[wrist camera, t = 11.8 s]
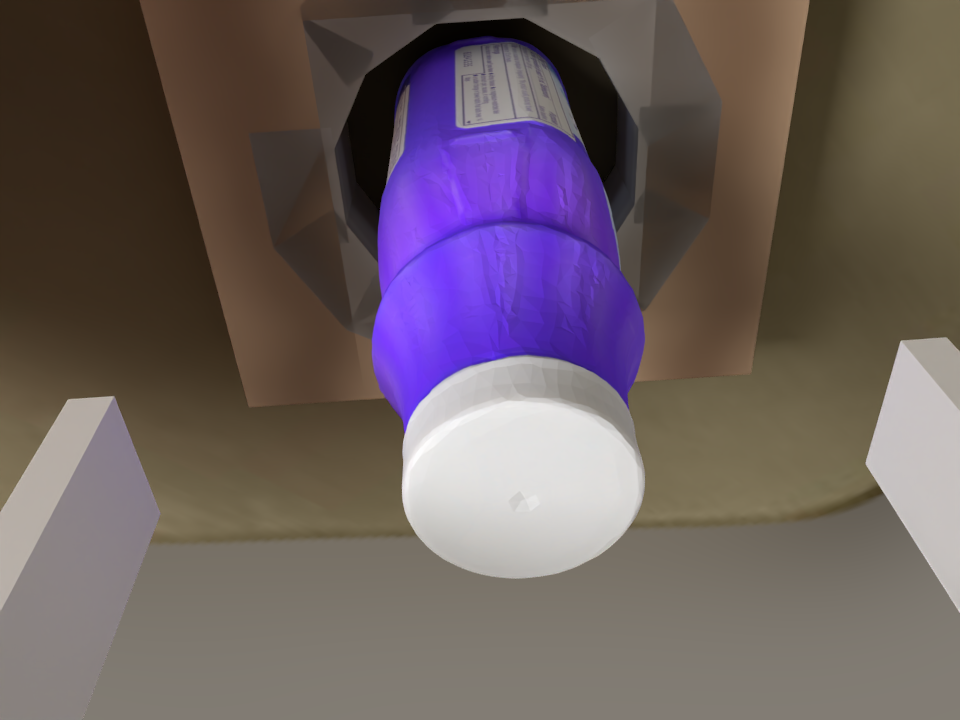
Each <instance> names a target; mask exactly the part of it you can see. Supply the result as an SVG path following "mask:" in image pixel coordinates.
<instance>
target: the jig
mask: <svg viewBox="0 0 960 720" xmlns="http://www.w3.org/2000/svg"><path fill="white" fill-rule="evenodd" d="M139 1H140V4H141V8H142V12H143V16H144V19H145V23H146V27H147V30H148V34H149V38H150V42H151V45H152V49H153V53H154V57H155V60H156V64H157V68H158V71H159V75H160V79H161V83H162V86H163V90H164V94H165V97H166V101H167V105H168V109H169V112H170V116H171V120H172V124H173V127H174V131H175V135H176V138H177V142H178V146H179V150H180V153H181V157H182V161H183V165H184V168H185V172H186V176H187V179H188V183H189V187H190V191H191V194H192V198H193V202H194V205H195V209H196V213H197V217H198V220H199V224H200V228H201V232H202V235H203V239H204V243H205V246H206V250H207V254H208V258H209V261H210V265H211V269H212V273H213V276H214V280H215V284H216V287H217V291H218V295H219V299H220V302H221V306H222V310H223V313H224V317H225V321H226V325H227V328H228V332H229V336H230V340H231V343H232V347H233V351H234V354H235V358H236V362H237V366H238V369H239V373H240V377H241V381H242V384H243V388H244V392H245V395H246V399H247V403H248V407H262V406H277V405H292V404H307V403H322V402H337V401H352V400H367V399H382V398H385V396H384V394H383V393H382V392H381V391H380V389H379V384H378V381H377V378H376V376H375V373H374V367H373V360H372V336H373V329H374V325H375V319H376V315H377V311H378V308H379V305H380V302H381V300H382V295H381V288H380V281H379V267H378V225H379V216H380V211H379V210H378V209H377V208H376V206H375V205H374V204H373V202H372V201H371V200H370V199H369V197H368V196H367V195H366V194H365V192H364V191H363V190H362V188H361V187H360V186H359V185H358V183H357V182H356V176H355V170H354V163H353V156H352V149H351V143H350V136H349V129H348V122H347V117H348V115H349V112H350V110H351V108H352V105H353V103H354V100H355V98H356V96H357V93H358V91H359V88H360V86H361V84H362V81H363V79H364V76H365V74H366V73H368V72H369V71H370V70H372V69H373V68H375V67H376V66H377V65H379V64H380V63H382V62H383V61H384V60H386V59H387V58H389V57H390V56H391V55H393V54H394V53H396V52H397V51H398V50H400V49H401V48H403V47H404V46H405V45H407V44H408V43H410V42H411V41H412V40H414V39H415V38H417V37H418V36H419V35H421V34H422V33H424V32H425V31H426V30H428V29H429V28H431V27H432V26H433V25H435V24H439V23H453V22H468V21H483V20H498V19H513V18H526V19H527V20H529V21H531V22H533V23H535V24H537V25H539V26H540V27H542V28H544V29H546V30H548V31H550V32H552V33H553V34H555V35H557V36H559V37H561V38H563V39H565V40H566V41H568V42H570V43H572V44H574V45H576V46H578V47H580V48H581V49H583V50H585V51H587V52H589V53H591V54H593V55H594V56H596V57H597V58H598V59H599V61H600V63H601V65H602V67H603V68H604V70H605V72H606V74H607V76H608V77H609V79H610V81H611V83H612V85H613V86H614V88H615V90H616V92H617V94H618V106H617V133H616V160H615V166H614V168H613V169H612V171H611V172H610V174H609V176H608V177H607V179H606V181H605V182H604V184H603V186H604V189H605V191H606V194H607V197H608V200H609V204H610V207H611V211H612V217H613V221H614V225H615V229H616V235H617V241H618V247H619V255H620V265H621V272H622V274H623V275H624V277H625V279H626V280H627V282H628V283H629V285H630V286H631V288H632V289H633V291H634V294H635V297H636V299H637V302H638V304H639V307H640V310H641V313H642V316H643V322H644V333H645V344H644V350H643V355H642V359H641V362H640V366H639V369H638V373H637V375H636V378H635V381H634V382H639V381H654V380H669V379H684V378H700V377H715V376H730V375H745V374H751V371H752V365H753V358H754V352H755V346H756V339H757V333H758V326H759V320H760V314H761V307H762V301H763V295H764V288H765V282H766V275H767V269H768V263H769V256H770V250H771V244H772V237H773V231H774V224H775V218H776V212H777V205H778V199H779V193H780V186H781V180H782V173H783V167H784V161H785V154H786V148H787V142H788V135H789V129H790V122H791V116H792V110H793V103H794V97H795V91H796V84H797V78H798V71H799V65H800V59H801V52H802V46H803V40H804V33H805V27H806V20H807V14H808V8H809V1H810V0H139Z"/></svg>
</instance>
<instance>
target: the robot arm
mask: <svg viewBox="0 0 960 720" xmlns="http://www.w3.org/2000/svg"><path fill="white" fill-rule="evenodd" d="M865 464H866V465H867V467H868V469H869V470H870V472H871V473H872V475H873V476H874V478H875V480H876V481H877V483H878V484H879V486H880V487H881V489H882V491H883V492H884V494H885V495H886V497H887V498H888V500H889V502H890V503H891V505H892V506H893V508H894V509H895V511H896V513H897V514H898V516H899V518H900V519H901V521H902V522H903V524H904V525H905V527H906V529H907V530H908V531H909V533H910V535H911V536H912V538H913V540H914V541H915V543H916V544H917V546H918V547H919V549H920V551H921V552H922V554H923V555H924V557H925V558H926V560H927V562H928V563H929V565H930V566H931V568H932V570H933V571H934V573H935V574H936V576H937V578H938V579H939V581H940V582H941V584H942V586H943V587H944V589H945V590H946V592H947V593H948V595H949V597H950V598H951V600H952V601H953V603H954V604H955V606H956V608H957V609H958V611H959V612H960V351H959V350H958V349H957V348H956V347H955V346H954V345H953V344H952V343H951V342H950V340H949V339H948V338H947V337H945V338H931V339H917V340H902V341H901V342H900V345H899V349H898V352H897V356H896V359H895V363H894V366H893V370H892V373H891V377H890V380H889V384H888V387H887V391H886V394H885V397H884V401H883V404H882V408H881V411H880V415H879V418H878V422H877V425H876V429H875V432H874V436H873V439H872V443H871V446H870V449H869V453H868V456H867V460H866V463H865ZM159 516H160V511H159V509H158V506H157V504H156V501H155V498H154V496H153V493H152V491H151V488H150V486H149V483H148V481H147V478H146V476H145V473H144V471H143V468H142V465H141V463H140V460H139V458H138V455H137V453H136V450H135V448H134V445H133V443H132V440H131V438H130V435H129V432H128V430H127V427H126V425H125V422H124V420H123V417H122V415H121V412H120V410H119V407H118V405H117V402H116V399H115V397H114V396H108V397H94V398H80V399H68V400H67V402H66V404H65V405H64V407H63V409H62V410H61V412H60V414H59V415H58V417H57V419H56V420H55V422H54V424H53V425H52V427H51V429H50V430H49V432H48V434H47V435H46V437H45V439H44V440H43V442H42V444H41V445H40V447H39V449H38V450H37V452H36V454H35V455H34V457H33V459H32V460H31V462H30V464H29V465H28V467H27V469H26V470H25V472H24V474H23V475H22V477H21V479H20V480H19V482H18V484H17V485H16V487H15V489H14V490H13V492H12V494H11V495H10V497H9V499H8V500H7V502H6V504H5V505H4V507H3V509H2V510H1V512H0V720H83V717H84V714H85V712H86V709H87V706H88V704H89V701H90V699H91V696H92V693H93V691H94V688H95V685H96V683H97V680H98V677H99V675H100V672H101V670H102V667H103V664H104V661H105V659H106V656H107V654H108V651H109V648H110V646H111V643H112V640H113V638H114V635H115V632H116V630H117V627H118V625H119V622H120V619H121V616H122V614H123V611H124V609H125V606H126V603H127V601H128V598H129V595H130V593H131V590H132V587H133V585H134V582H135V580H136V577H137V574H138V572H139V569H140V566H141V564H142V561H143V559H144V556H145V553H146V551H147V548H148V545H149V543H150V540H151V538H152V535H153V532H154V530H155V527H156V524H157V522H158V519H159Z"/></svg>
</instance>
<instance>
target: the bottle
mask: <svg viewBox="0 0 960 720" xmlns="http://www.w3.org/2000/svg"><path fill="white" fill-rule="evenodd" d="M378 267H379V281H380V288H381V295H382V300H381V302H380V305H379V308H378V311H377V315H376V319H375V325H374V329H373V336H372V360H373V367H374V373H375V376H376V378H377V381H378V384H379V389H380V391H381V392H382V393H383V394H384V396H385V398H386V399H387V400H388V401H389V403H390V404H391V406H392V407H393V409H394V410H395V411H396V413H397V414H398V415H399V416H400V417H401V419H402V420H403V425H404V433H405V436H404V440H403V452H402V453H403V479H402V498H403V505H404V509H405V513H406V516H407V519H408V520H409V522H410V524H411V526H412V527H413V529H414V531H415V533H416V534H417V536H418V537H419V538H420V539H421V540H422V541H423V543H424V544H425V545H426V546H427V547H428V548H430V550H432V551H433V552H434V553H436V554H437V555H438V556H440V557H441V558H443V559H444V560H446V561H448V562H450V563H452V564H454V565H456V566H458V567H460V568H463V569H466V570H468V571H471V572H475V573H478V574H482V575H487V576H493V577H501V578H517V579H518V578H519V579H520V578H529V577H538V576H546V575H552V574H557V573H560V572H563V571H566V570H569V569H572V568H575V567H577V566H579V565H581V564H583V563H585V562H587V561H589V560H591V559H593V558H595V557H597V556H599V555H600V554H601V553H603V552H604V551H605V550H607V549H608V548H609V547H611V546H612V545H613V544H614V543H615V542H616V541H617V540H618V539H619V538H620V537H621V536H622V535H623V534H624V533H625V532H626V530H627V529H628V528H629V526H630V525H631V524H632V522H633V520H634V519H635V517H636V515H637V513H638V511H639V509H640V506H641V504H642V499H643V495H644V488H645V471H644V466H643V461H642V458H641V455H640V452H639V448H638V445H637V441H636V437H635V429H634V423H633V420H632V417H631V415H630V412H629V407H628V395H627V393H628V392H629V390H630V388H631V386H632V385H633V383H634V381H635V378H636V375H637V373H638V369H639V366H640V362H641V359H642V355H643V350H644V344H645V333H644V322H643V316H642V313H641V310H640V307H639V304H638V302H637V299H636V297H635V294H634V291H633V289H632V288H631V286H630V285H629V283H628V282H627V280H626V279H625V277H624V275H623V274H622V272H621V265H620V255H619V247H618V241H617V235H616V229H615V225H614V221H613V217H612V211H611V207H610V204H609V200H608V197H607V194H606V191H605V189H604V186H603V183H602V181H601V178H600V176H599V174H598V172H597V170H596V169H595V167H594V166H593V164H592V163H591V161H590V159H589V156H588V154H587V151H586V149H585V146H584V144H583V141H582V138H581V136H580V133H579V130H578V128H577V126H576V123H575V120H574V118H573V115H572V113H571V110H570V105H569V101H568V97H567V93H566V90H565V87H564V85H563V83H562V80H561V78H560V75H559V73H558V71H557V69H556V68H555V66H554V65H553V64H552V62H551V61H550V60H549V58H547V57H546V56H545V55H544V54H543V53H542V52H541V51H540V50H538V49H537V48H536V47H534V46H533V45H531V44H529V43H526V42H524V41H521V40H517V39H512V38H497V37H493V36H483V37H476V38H469V39H462V40H457V41H454V42H452V43H450V44H447V45H443V46H439V47H436V48H434V49H432V50H430V51H428V52H427V53H425V54H424V55H422V56H421V57H420V58H419V59H417V60H416V61H415V62H414V63H413V65H412V66H411V67H410V68H409V69H408V71H407V73H406V74H405V76H404V78H403V80H402V82H401V84H400V87H399V90H398V93H397V97H396V103H395V111H394V133H393V141H392V148H391V155H390V162H389V169H388V176H387V183H386V187H385V190H384V193H383V195H382V200H381V207H380V216H379V225H378Z"/></svg>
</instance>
